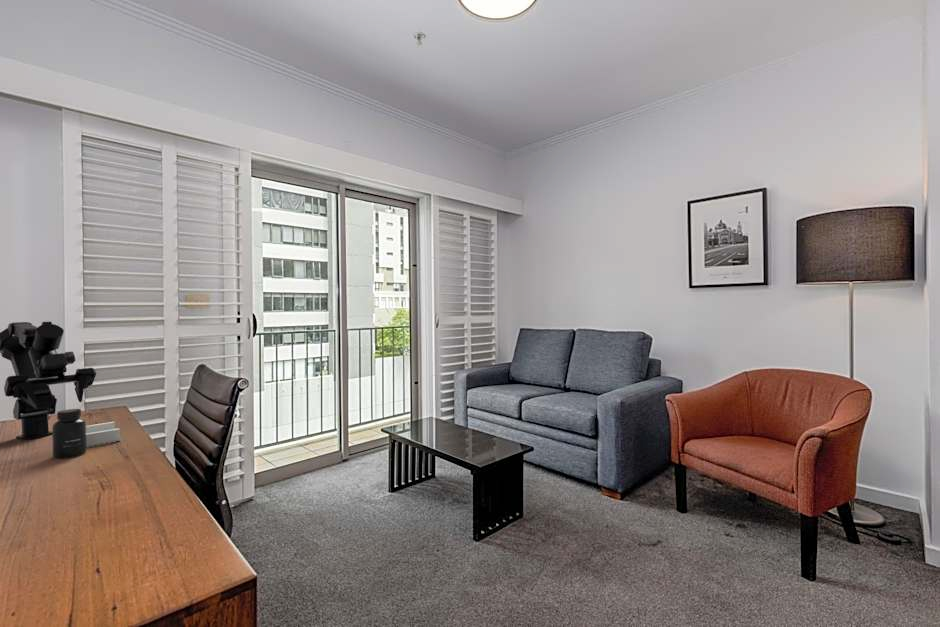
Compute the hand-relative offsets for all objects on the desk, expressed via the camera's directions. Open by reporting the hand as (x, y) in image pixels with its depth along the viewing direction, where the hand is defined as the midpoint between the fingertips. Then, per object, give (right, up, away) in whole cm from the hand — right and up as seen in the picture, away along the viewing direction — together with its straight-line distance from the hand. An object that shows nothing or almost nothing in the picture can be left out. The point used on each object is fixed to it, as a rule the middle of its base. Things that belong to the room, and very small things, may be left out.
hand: (60, 404), depth 126 cm
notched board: (+3, -12, +10) cm, 16 cm away
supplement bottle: (+6, -13, -3) cm, 15 cm away
